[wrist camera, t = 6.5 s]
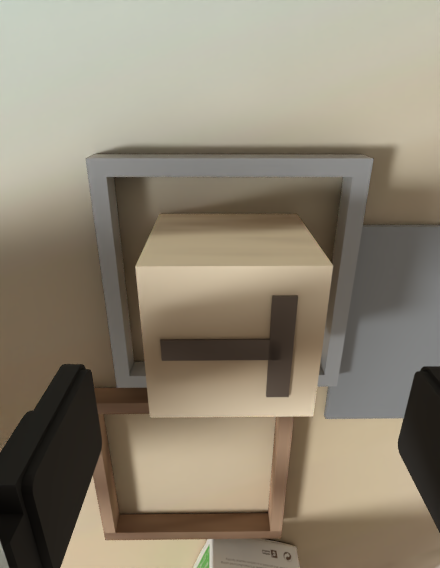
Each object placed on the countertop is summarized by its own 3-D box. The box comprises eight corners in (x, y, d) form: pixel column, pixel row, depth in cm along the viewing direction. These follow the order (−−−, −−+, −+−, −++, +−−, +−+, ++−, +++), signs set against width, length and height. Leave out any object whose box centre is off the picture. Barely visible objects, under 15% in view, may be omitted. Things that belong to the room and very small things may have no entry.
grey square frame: (94, 153, 16) (85, 158, 15) (363, 154, 16) (373, 158, 15) (121, 372, 21) (116, 387, 20) (330, 371, 21) (336, 386, 20)
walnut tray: (86, 387, 21) (79, 403, 20) (291, 386, 22) (295, 402, 20) (109, 521, 26) (105, 540, 25) (278, 519, 26) (280, 538, 25)
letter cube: (159, 213, 17) (134, 267, 12) (296, 213, 18) (334, 267, 12) (167, 330, 20) (149, 419, 15) (286, 329, 20) (313, 418, 15)
